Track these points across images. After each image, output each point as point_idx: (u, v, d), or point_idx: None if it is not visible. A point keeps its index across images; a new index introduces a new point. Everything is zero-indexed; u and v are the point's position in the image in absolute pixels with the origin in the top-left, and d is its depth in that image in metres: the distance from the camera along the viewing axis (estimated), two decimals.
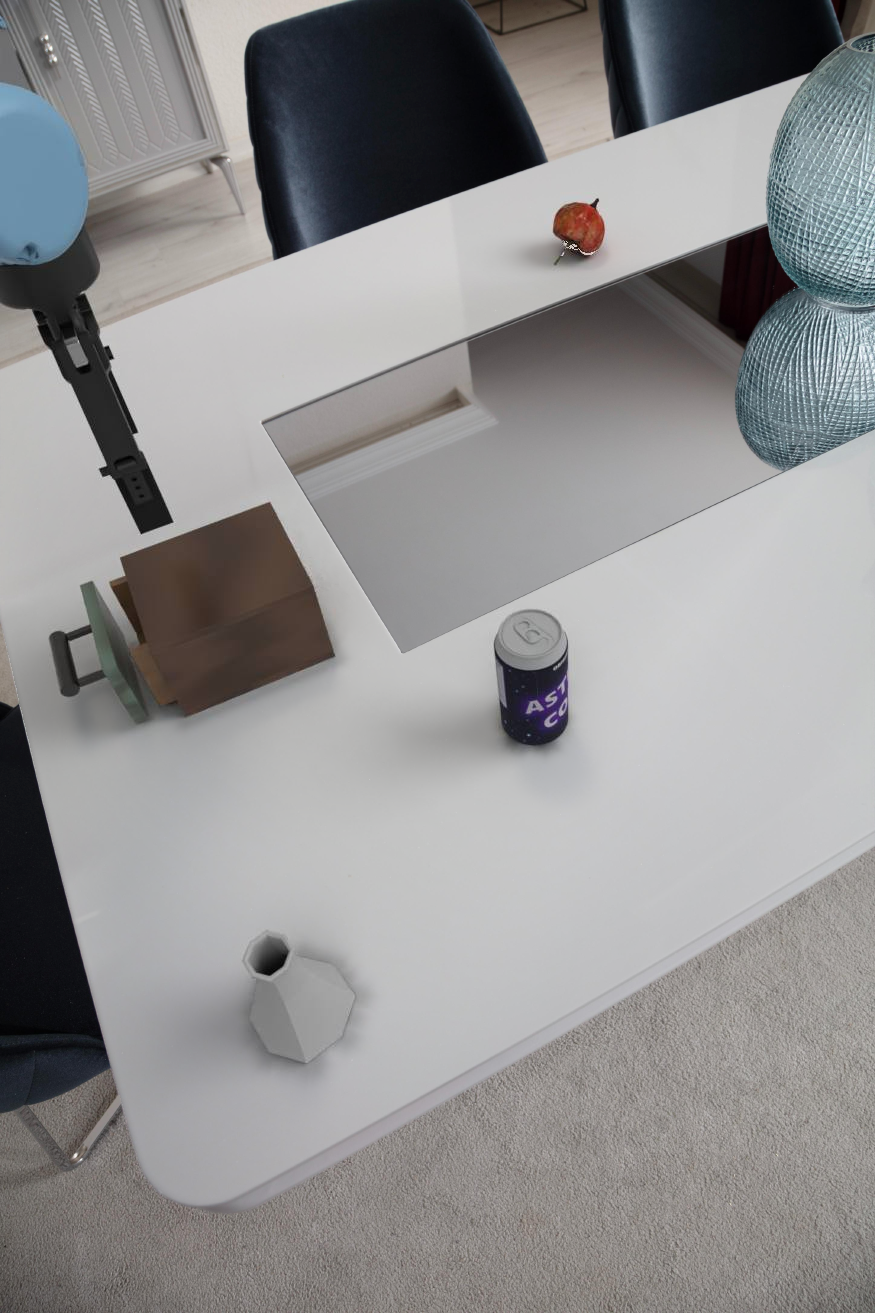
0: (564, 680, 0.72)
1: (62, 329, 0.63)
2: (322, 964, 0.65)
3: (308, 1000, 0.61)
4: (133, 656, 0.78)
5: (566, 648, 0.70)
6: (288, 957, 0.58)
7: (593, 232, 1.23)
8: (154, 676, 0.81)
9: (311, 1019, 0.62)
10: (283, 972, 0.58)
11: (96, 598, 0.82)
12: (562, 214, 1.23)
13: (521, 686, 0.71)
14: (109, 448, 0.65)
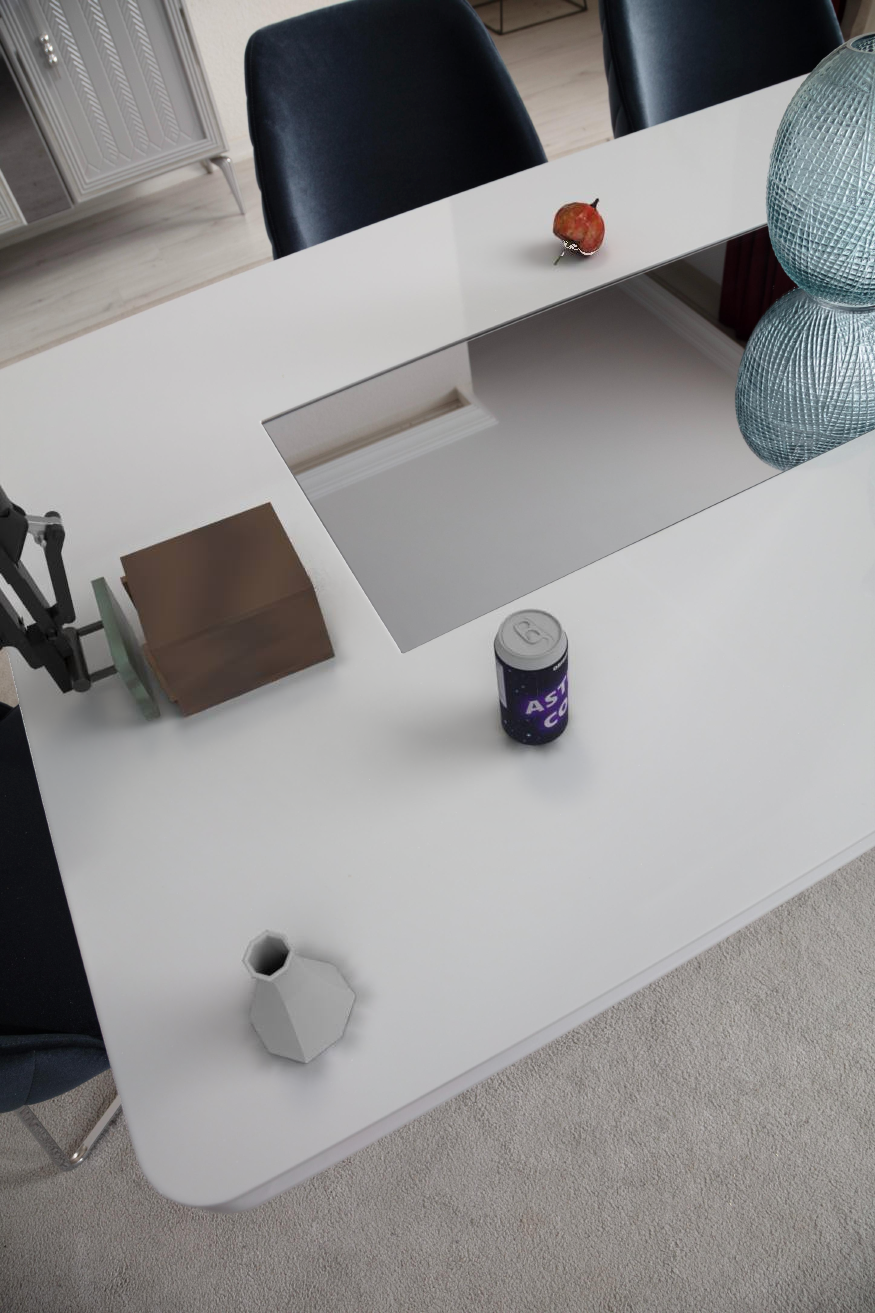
0: (564, 680, 0.72)
1: (28, 520, 0.71)
2: (322, 964, 0.65)
3: (308, 1000, 0.61)
4: (145, 651, 0.78)
5: (566, 648, 0.70)
6: (288, 957, 0.58)
7: (593, 232, 1.23)
8: None
9: (311, 1018, 0.62)
10: (283, 972, 0.58)
11: (107, 594, 0.83)
12: (562, 214, 1.23)
13: (521, 686, 0.71)
14: None
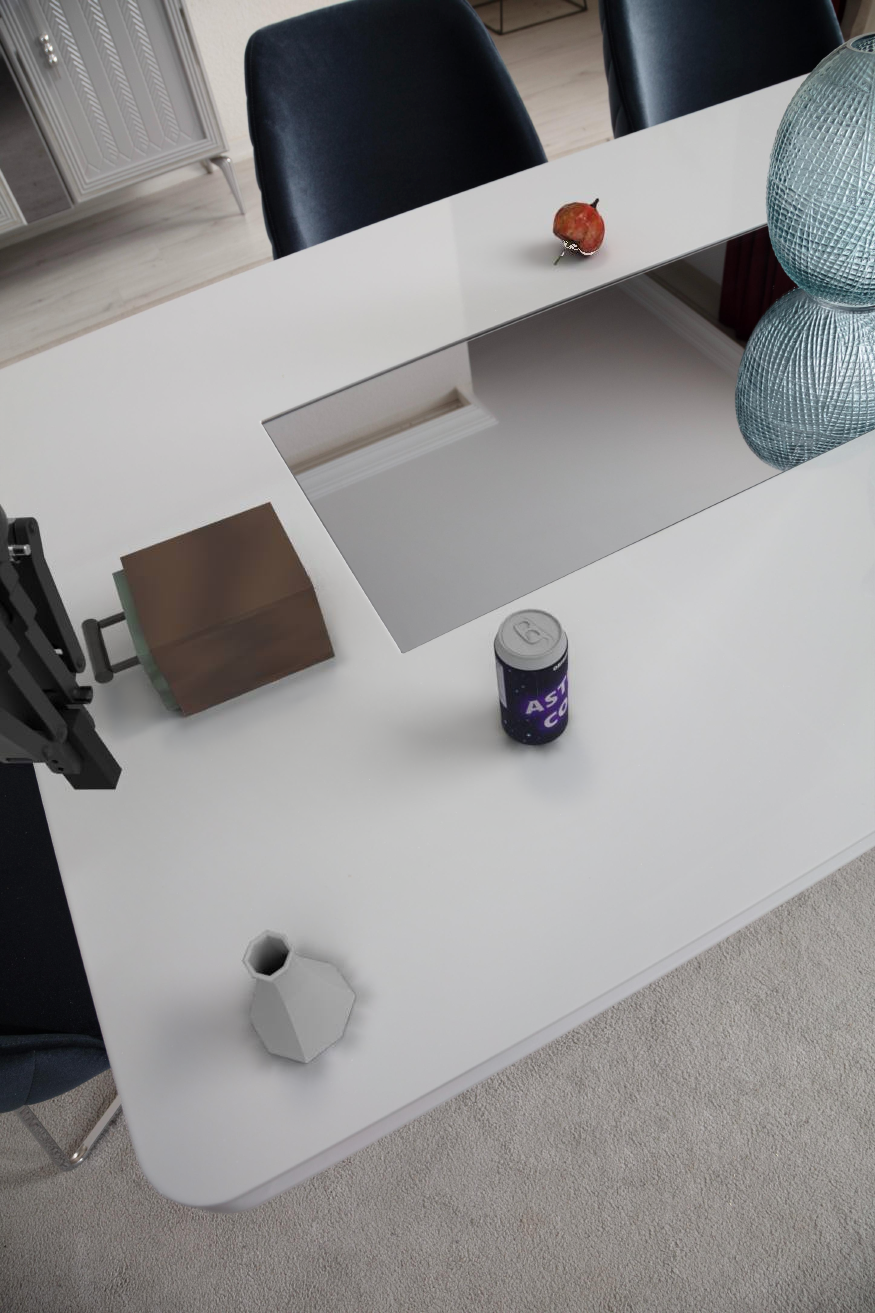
0: (564, 680, 0.72)
1: None
2: (322, 964, 0.65)
3: (308, 1000, 0.61)
4: None
5: (566, 648, 0.70)
6: (288, 957, 0.58)
7: (593, 232, 1.23)
8: None
9: (311, 1018, 0.62)
10: (283, 972, 0.58)
11: None
12: (562, 214, 1.23)
13: (521, 686, 0.71)
14: None
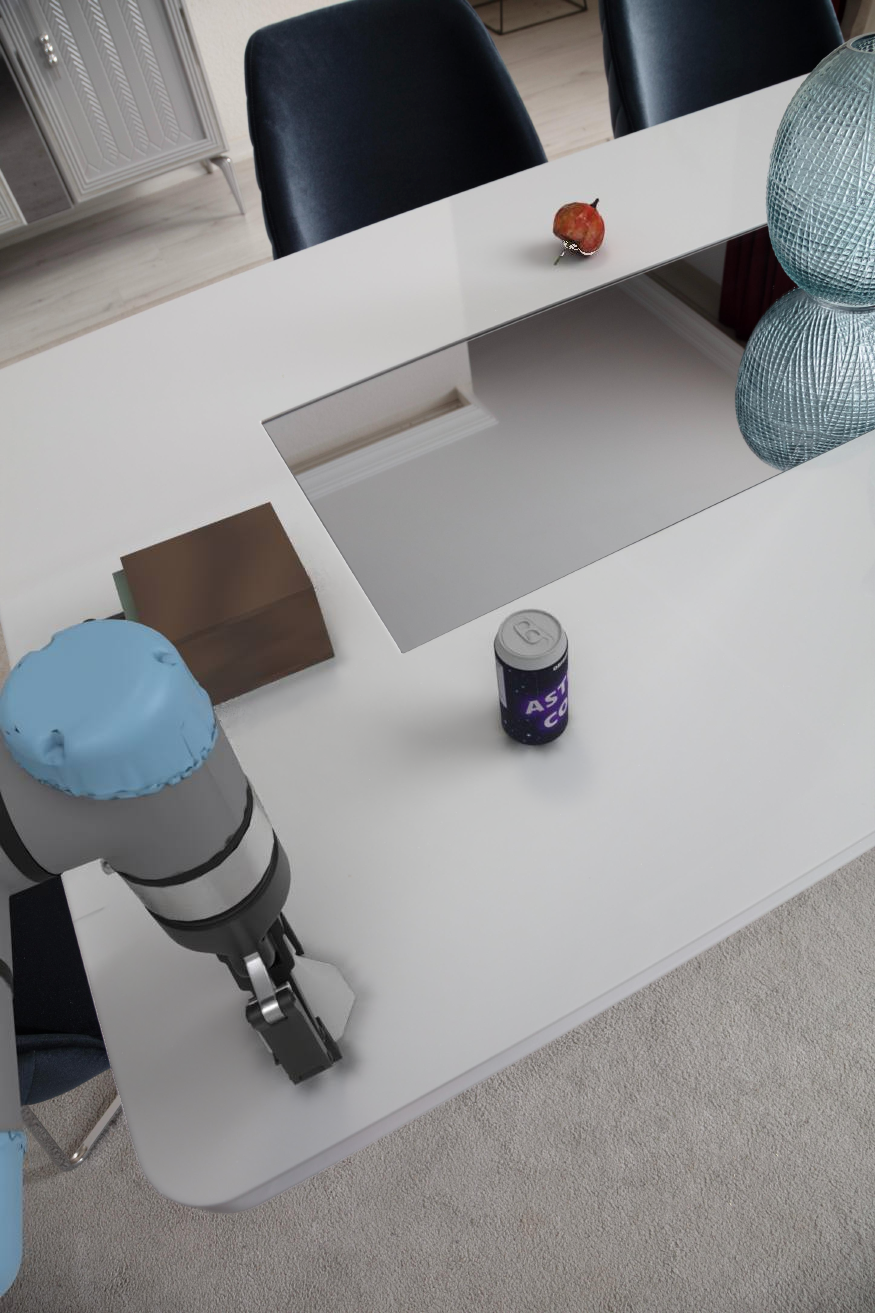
0: (564, 680, 0.72)
1: None
2: (322, 964, 0.65)
3: (308, 1000, 0.61)
4: None
5: (566, 648, 0.70)
6: None
7: (593, 232, 1.23)
8: None
9: None
10: None
11: None
12: (562, 214, 1.23)
13: (521, 686, 0.71)
14: None
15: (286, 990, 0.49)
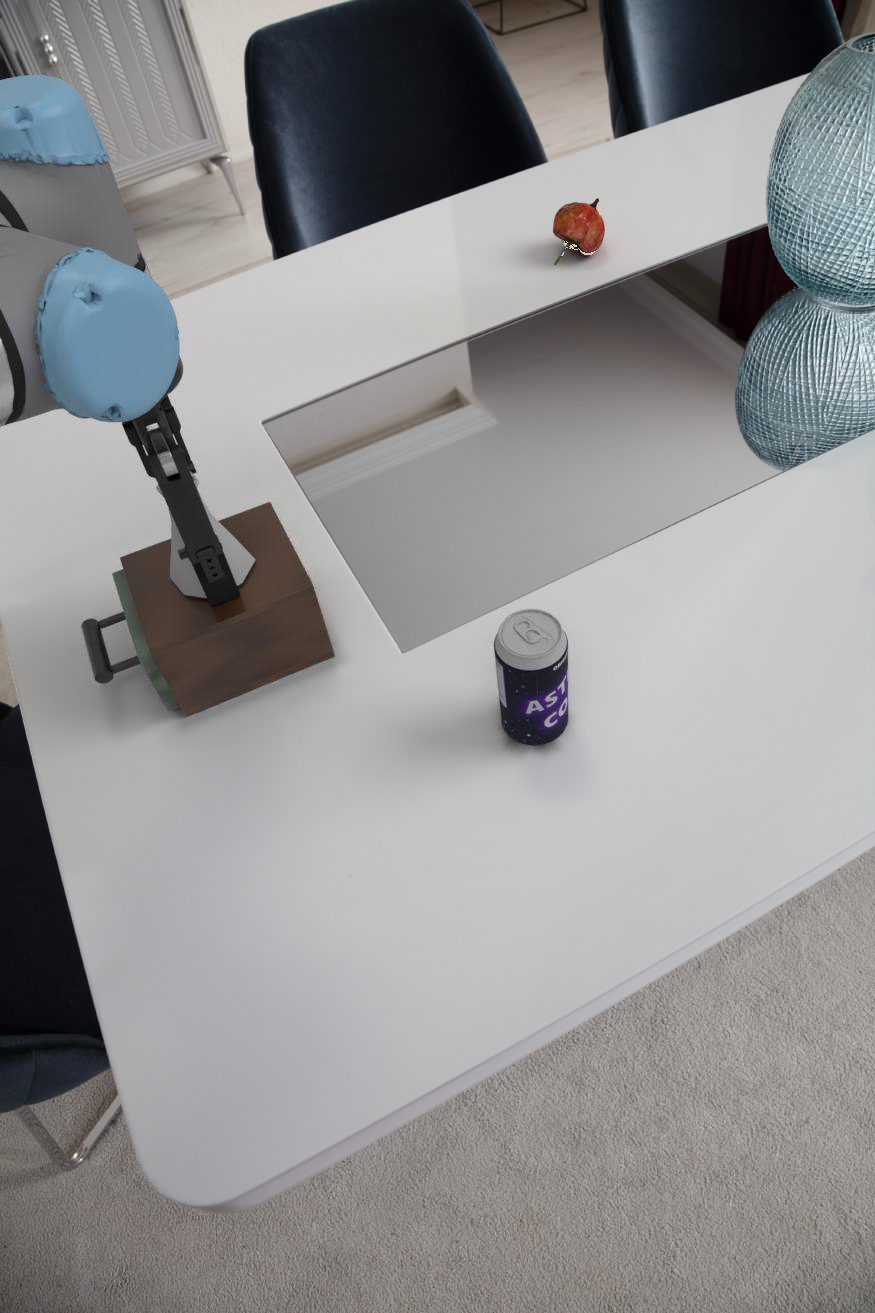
0: (564, 680, 0.72)
1: None
2: (228, 531, 0.81)
3: None
4: None
5: (566, 648, 0.70)
6: None
7: (593, 232, 1.23)
8: None
9: None
10: None
11: None
12: (562, 214, 1.23)
13: (521, 686, 0.71)
14: None
15: None
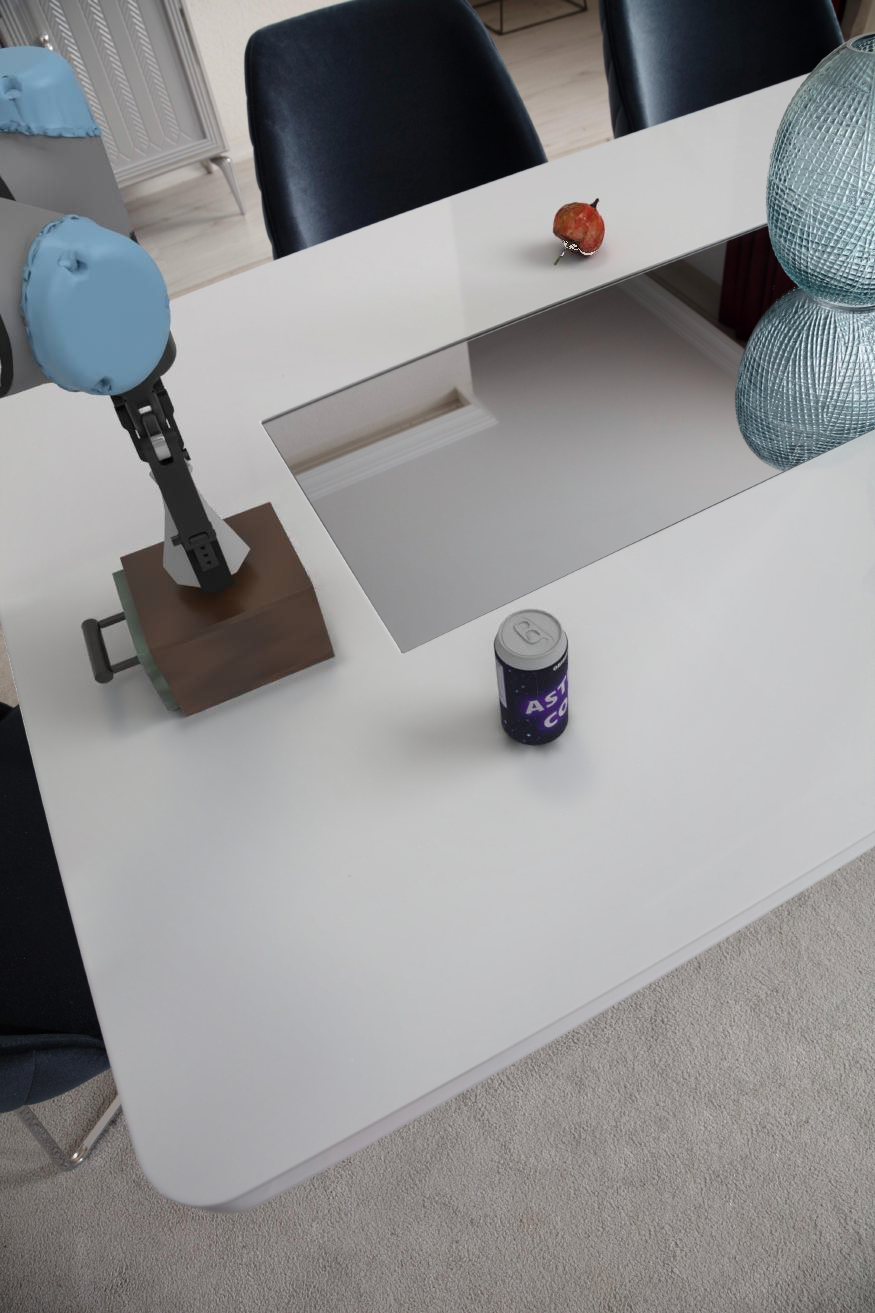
0: (564, 680, 0.72)
1: None
2: None
3: None
4: None
5: (566, 648, 0.70)
6: None
7: (593, 232, 1.23)
8: None
9: None
10: None
11: None
12: (562, 214, 1.23)
13: (521, 686, 0.71)
14: None
15: (170, 427, 0.64)
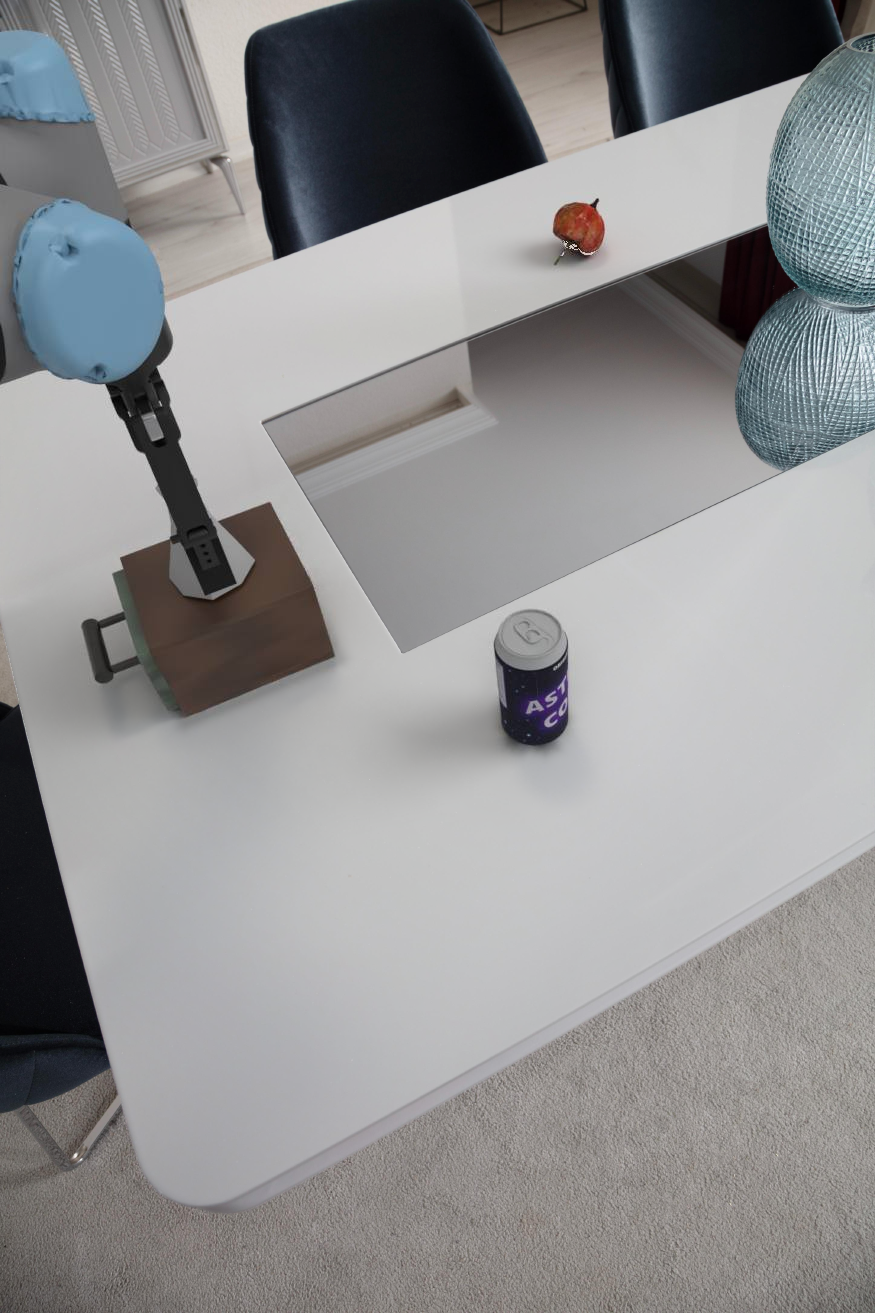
0: (564, 680, 0.72)
1: None
2: (227, 531, 0.81)
3: None
4: None
5: (566, 648, 0.70)
6: None
7: (593, 232, 1.23)
8: None
9: None
10: None
11: None
12: (562, 214, 1.23)
13: (521, 686, 0.71)
14: None
15: None
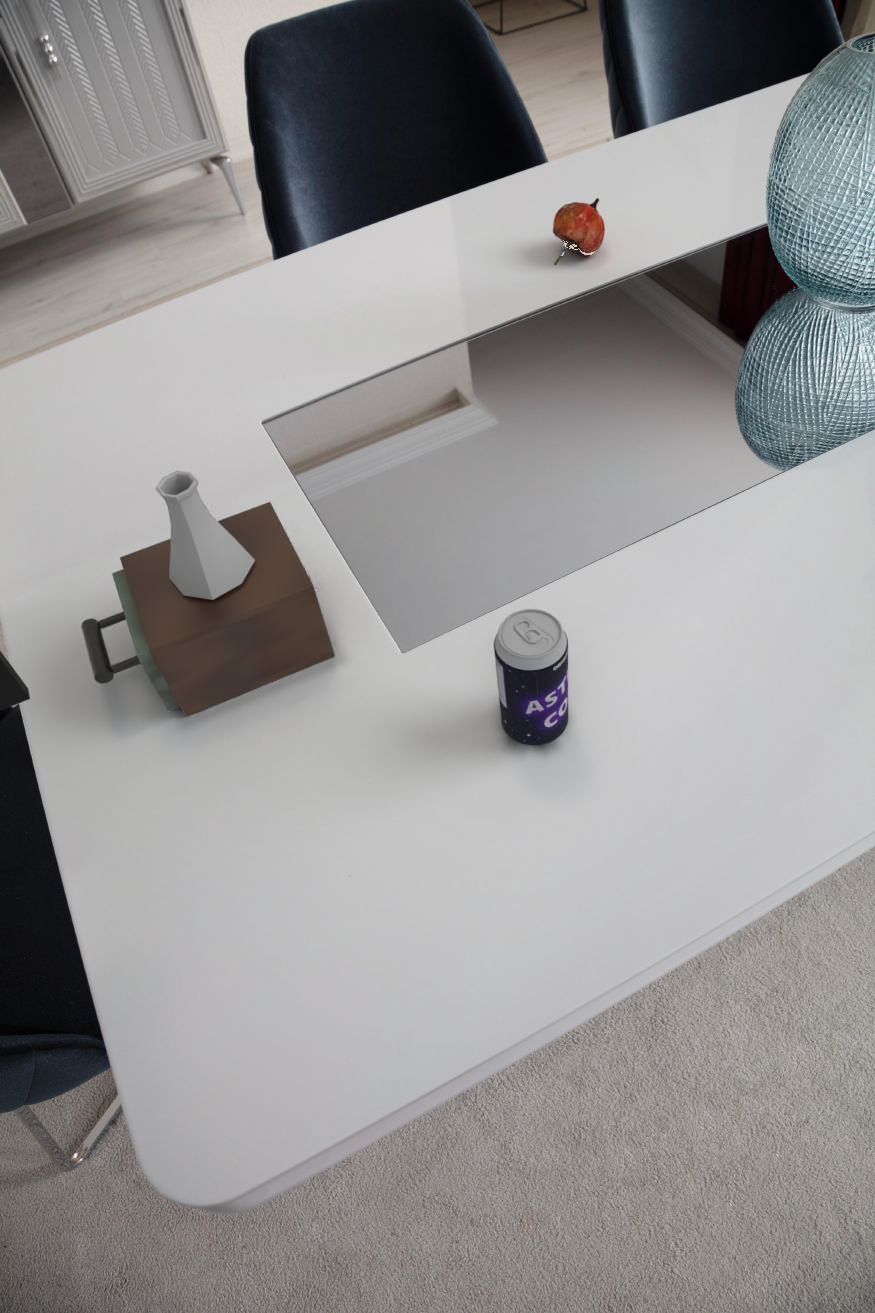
0: (564, 680, 0.72)
1: None
2: (227, 531, 0.81)
3: (211, 538, 0.77)
4: None
5: (566, 648, 0.70)
6: (191, 483, 0.74)
7: (593, 232, 1.23)
8: None
9: (215, 557, 0.78)
10: (187, 492, 0.73)
11: None
12: (562, 214, 1.23)
13: (521, 686, 0.71)
14: None
15: None
